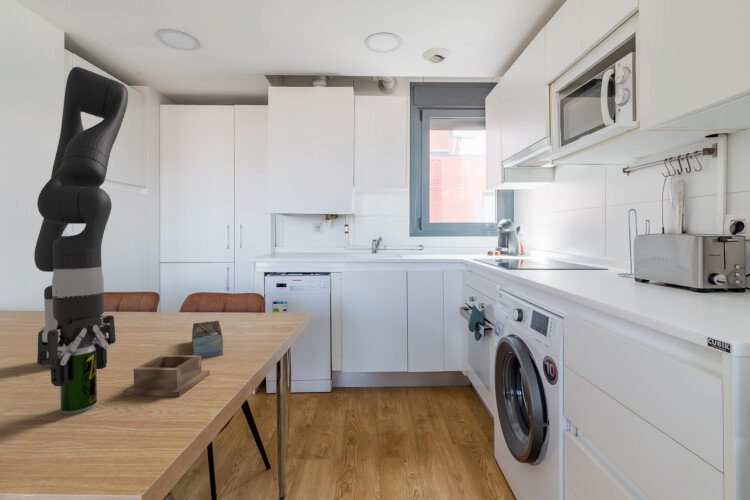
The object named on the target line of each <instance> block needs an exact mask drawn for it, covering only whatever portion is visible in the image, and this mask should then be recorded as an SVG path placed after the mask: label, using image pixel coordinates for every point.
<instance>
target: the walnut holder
mask: <svg viewBox="0 0 750 500" xmlns="http://www.w3.org/2000/svg"><path fill="white" fill-rule="evenodd" d="M210 375H211V371H210V370H209V369H208V370H207V369H206V370H202V358H201V356H196V355H193V354H192V355H191V354H190V355H187V354H181V355H180V354H178V355H177V354H162V355H159V356H157V357H156V358H154V359H152V360H149V361H147V362H145V363H143V364H142V365H139V366H138V367H135V368H134V369H133V384H132V385H131V386H128V387H127V388H125V389H124V390H123V394H122V395H123V396H139V397H140V396H141V397H142V396H143V397H146V396H147V397H177V398H178V397H181V396H183V395H184V394H186V392H188V391H190V390H191V389H192V388H193V387H195V386H197V384H200V383H201V382H202V381H203V380H204V379H206V378H208V376H210Z"/></svg>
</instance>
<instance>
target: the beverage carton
mask: <svg viewBox="0 0 750 500" xmlns="http://www.w3.org/2000/svg"><path fill="white" fill-rule="evenodd" d="M220 324H221V323H220V321H219V320H214V321H213V320H212V321H203V322H202V321H201V322H194V323H193V324H192V332H191V338H192V339H191V340H192V344H191V345H192V355H196V356H201V359H202V358H208V357H215V356H222V355H224V341H223V340H224V339H223V332H222V328H221V325H220Z"/></svg>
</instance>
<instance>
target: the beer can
mask: <svg viewBox="0 0 750 500" xmlns="http://www.w3.org/2000/svg"><path fill="white" fill-rule="evenodd" d="M64 347H68V346H64ZM62 354H63V353H62ZM62 354H61V355H60V358H61V356H62ZM66 364H68V384H67V385H64V386H59V388H60V393H59V394H60V397H59V398H60V410H61V412H62V414H64V415H67V416H68V415H77V414H81V413H85V412H87V411H89V410H90V411H91V410H92V409H93V408H95V406H96V404H97V403H98V383H97V382H98V377H97V376H98V375H97V370H98V369H97V368H96V348H95V346H94V343H89V344H84V345H82V346H80V347H77V349H76V351H75V352H74V353H72V354H71V355H70V357H69V359H68V361H67V363H66Z"/></svg>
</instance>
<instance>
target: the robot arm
mask: <svg viewBox="0 0 750 500" xmlns="http://www.w3.org/2000/svg"><path fill="white" fill-rule="evenodd" d="M128 103H129V91H128V88H127V86H126V85H125V84H123V83H121V82H119V81H118V80H114V79H112V78H109V77H107V76H104V75H102V74H99V73H96V72H93V71H91V70H88V69H86V68H84V67H80V66H75V67H72V68H71V69H70V71H69V73H68V75H67V79H66V83H65V90H64V98H63V105H62V106H63V108H62V118H61V126H60V133H59V139H58V144H57V148H56V151H55V155H54V156H55V157H54V161H53V165H52V169H51V175H50V178H49V179H48V181H47V182H46V183H45V184H44V186H43V187H42V189H41V190H40V192H39V195H38V197H37V202H36V203H37V205H36V206H37V210H38V212H39V214H40V216H41V217H42V218H43V219H42V223H41V226H40V230H39V233H38V235H37V239H36V243H35V248H34V255H33V256H34V264H35V266H36V268H37V270H39V271H41V272H46V273H52V280H51V285H48V286H46V287H45V289H44V291H43V297H44V300H43V302H44V326H43V327H41V330H40V331H38V333H37V334H38V335H37V362H36V363H37V365H38V366H46V367H49V368H50V382H51V384H52V385H53V386H54V387H60V386H64V385H67V384H68V364H66V363H67V361H68V359H69V357H70V355H71V354H72V353H74V352H75V351H76V349H77V347H80V346H82V345H84V344H89V343H94V346H95V348H96V368H97V370H103V369H105V368H106V367H107V363H108V352H107V350H108V349H109V347H110V346H111V345H112V344H115V343H116V341H117V339H116V326H115V316H114V315H113V314H112V315H111V314H109V315H106V314H104V313H105V292H104V290H105V289H104V287H105V286H104V275H103V270H102V269H103V268H102V243H103V238H104V233H105V231H106V227H107V224H108V221H109V218H110V215H111V211H112V207H113V206H112V200H111V197H110V195H109V194H108V193H107V192H106V190H104V189H103V188H100V187H101V186H102V185H103V184H104V183H105V180H106V178H107V177H106V176H107V172H108V166H109V161H110V157H111V152H112V150H113V146H114V144H115V142H116V140H117V137H118V134H119V132H120V128H122V127H121V126H122V123H123V121H124V117H125V115H126V112H127V108H128ZM82 113H85V114H88V115H91V116H94V117H98V118H100V119H102V120H101V121H100V122H98V123H97V124H95V125H93V126H91V127H89V128H86V129H84V127H83V125H84V124H83V122H82ZM70 224H71V225H73V224H74V225H75V224H76V225H78V224H79V225H80V224H81V225H83V224H84V225H85V226H84V228H83V229H82V230H81V232H79V233H78V234H73V235H63V234H64V232H65V230H66V228H67V227H68V225H70ZM103 314H104V315H103ZM107 334H108V337H107ZM64 346H68V347H64ZM62 353H63V354H62ZM61 354H62V356H61V358H60V355H61Z"/></svg>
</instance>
